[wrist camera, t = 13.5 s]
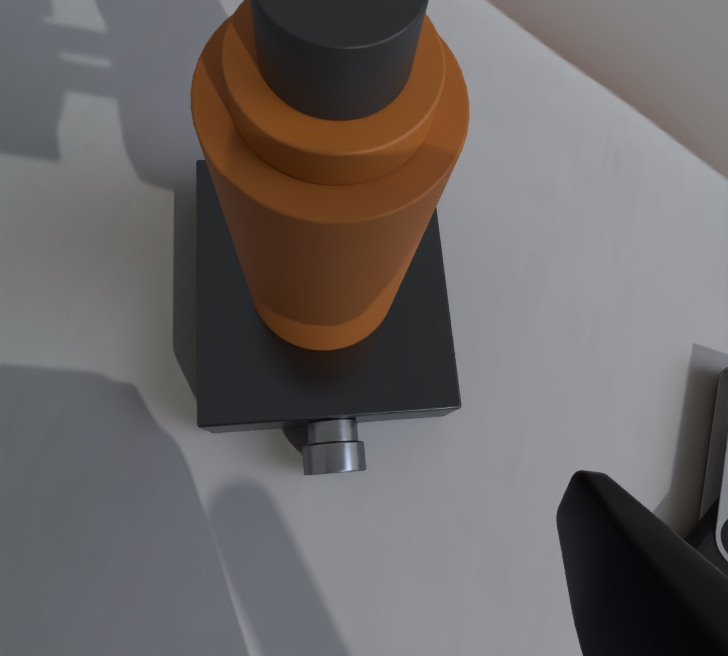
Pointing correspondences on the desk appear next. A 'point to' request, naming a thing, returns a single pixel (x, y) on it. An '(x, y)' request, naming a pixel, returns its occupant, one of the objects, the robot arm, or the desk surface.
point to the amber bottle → (328, 153)
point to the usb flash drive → (715, 489)
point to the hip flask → (317, 354)
